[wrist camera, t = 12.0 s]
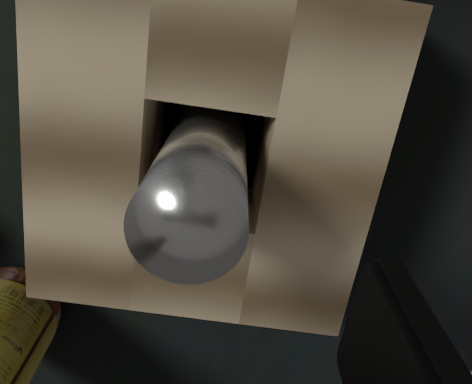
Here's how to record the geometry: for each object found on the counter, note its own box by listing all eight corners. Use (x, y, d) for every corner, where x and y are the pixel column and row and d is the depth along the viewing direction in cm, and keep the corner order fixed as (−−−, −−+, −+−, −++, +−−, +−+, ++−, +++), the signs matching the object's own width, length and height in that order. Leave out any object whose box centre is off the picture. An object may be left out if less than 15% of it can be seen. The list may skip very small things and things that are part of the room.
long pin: (179, 95, 24) (126, 163, 13) (250, 106, 25) (258, 182, 13) (172, 163, 26) (120, 276, 15) (240, 173, 26) (239, 291, 15)
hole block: (71, -44, 22) (13, -63, 16) (386, 7, 23) (433, 5, 17) (69, 240, 28) (26, 296, 22) (319, 273, 29) (337, 336, 23)
